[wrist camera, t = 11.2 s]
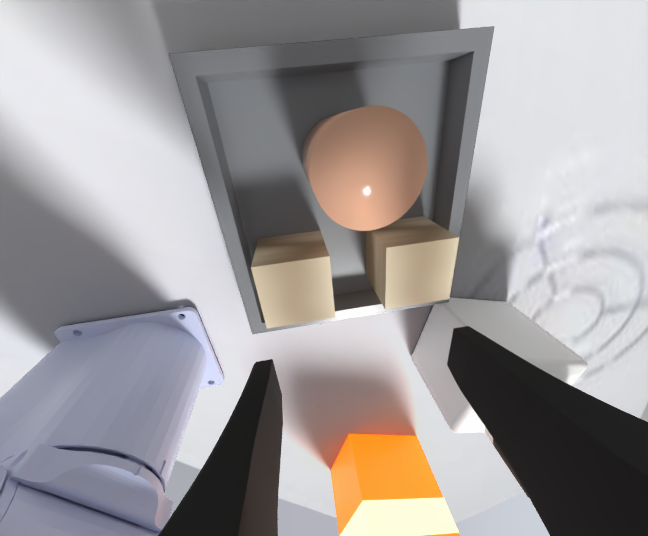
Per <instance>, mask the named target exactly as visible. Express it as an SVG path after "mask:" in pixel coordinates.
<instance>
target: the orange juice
mask: <svg viewBox="0 0 648 536" xmlns="http://www.w3.org/2000/svg"><path fill="white" fill-rule="evenodd" d="M331 478H332V485H333V493H334V500H335V507H336V515H337V522H338V529H339V536H460V535H459V531H458V529H457V527H456V525H455V522H454V520H453V518H452V515H451V513H450V511H449V508H448V506H447V504H446V502H445V499H444V498H443V496H442V494H441V491H440V489H439V487H438V485H437V482H436V480H435V478H434V475H433V473H432V471H431V468H430V466H429V464H428V461H427V459H426V457H425V454H424V452H423V450H422V448H421V445H420V443H419V441H418V438H417V436H408V435H372V434H349V435H348V437H347V439H346V441H345V443H344V445H343V446H342V448H341V450H340V452H339V454H338V456H337V458H336V460H335V462H334V464H333V466H332V468H331Z"/></svg>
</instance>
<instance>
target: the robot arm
mask: <svg viewBox="0 0 648 536" xmlns="http://www.w3.org/2000/svg"><path fill="white" fill-rule="evenodd" d="M180 314H184V315H185V316H181V315H180ZM78 330H79V331H78ZM80 331H81V332H80ZM54 335H55V337H56V338H57V339H58V341H59V342H60V343H59V344H58V345H57V346H56V347H55V348H54V349H53V350H52V351H51V352H50V353H48V354H47V355H46V356H45V357H44V358H43V359H42V360H41V361H40V362H39V363H38V364H37V365H36V366H34V367H33V368H32V369H31V370H30V371H29V372H28V373H27V374H26V375H25V376H24V377H23V378H22V379H20V380H19V381H18V382H17V383H16V384H15V385H14V386H13V387H12V388H11V389H10V390H9V391H8V392H7V393H5V394H4V395H3V396H2V397H1V398H0V536H278V533H277V532H278V530H277V529H278V528H277V507H278V487H279V472H280V457H281V442H282V426H283V416H282V394H281V390H280V386H279V382H278V379H277V375H276V371H275V367H274V364H273V360H272V359H271V360H266V361H260V362H256V363H255V364H254V366H253V368H252V371H251V374H250V376H249V378H248V381H247V383H246V385H245V388H244V390H243V392H242V394H241V397H240V399H239V401H238V403H237V405H236V407H235V409H234V411H233V413H232V415H231V417H230V419H229V421H228V423H227V425H226V427H225V429H224V431H223V432H222V434H221V436H220V438H219V440H218V442H217V443H216V445H215V447H214V449H213V451H212V453H211V454H210V456H209V458H208V459H207V461H206V463H205V464H204V466H203V468H202V469H201V471H200V473H199V474H198V476H197V478H196V479H195V481H194V482H193V484H192V486H191V487H190V489H189V490H188V492H187V493H186V495H185V497H184V498H183V499H182V501H181V502H180V504H179V506H178V507H177V509H176V510H175V511H174V513H173V514H172V516H171V518H170V519H169V516H170V513H171V510H172V507H173V503H174V502H173V501H172V500H170V499H168V498H167V497H166V496H165V495H164V492H165V489H166V486H167V483H168V480H169V477H170V474H171V471H172V468H173V465H174V462H175V459H176V457H177V454H178V451H179V448H180V445H181V442H182V439H183V436H184V433H185V430H186V427H187V424H188V421H189V418H190V415H191V412H192V409H193V406H194V403H195V400H196V397H197V394H198V391H199V388H205V387H210V386H216V385H220V384H222V383H223V382H224V375H223V373H222V371H221V368H220V366H219V363H218V361H217V358H216V356H215V353H214V351H213V349H212V346H211V344H210V341H209V339H208V336H207V334H206V332H205V329H204V327H203V324H202V322H201V319H200V317H199V314H198V312H197V310H196V309H194V308H192V307H185V308H179V309H172V310H166V311H159V312H153V313H146V314H140V315H133V316H126V317H120V318H113V319H107V320H100V321H94V322H87V323H81V324H74V325H67V326H61V327H59V328H58V329H57V330H56V331H55V332H54ZM447 366H448V368H449V370H450V372H451V374H452V376H453V378H454V379H455V381H456V383H457V385H458V387H459V389H460V390H461V392H462V393H463V395H464V396H465V398H466V399H467V401H468V402H469V404H470V405H471V407H472V408H473V410H474V411H475V412H476V414H477V415H478V417H479V418H480V420H481V421H482V423H483V424H484V425H485V427H486V428H487V430H488V431H489V433H490V434H491V436H492V437H493V439H494V440H495V441H496V443H497V444H498V446H499V447H500V449H501V450H502V452H503V453H504V455H505V456H506V458H507V460H508V461H509V463H510V464H511V466H512V468H513V470H514V471H515V473H516V475H517V477H518V478H519V480H520V482H521V484H522V485H523V487H524V489H525V490H526V492H527V494H528V496H529V498H530V499H531V501H532V503H533V505H534V507H535V508H536V510H537V512H538V514H539V516H540V517H541V519H542V521H543V523H544V525H545V527H546V528H547V530H548V532H549V534H550V536H648V422H646V421H644V420H642V419H640V418H637V417H635V416H633V415H631V414H628V413H626V412H624V411H622V410H620V409H617V408H615V407H613V406H611V405H609V404H607V403H605V402H603V401H601V400H599V399H597V398H595V397H593V396H591V395H588V394H586V393H584V392H582V391H581V390H579V389H577V388H575V387H573V386H571V385H569V384H567V383H565V382H563V381H562V380H560V379H558V378H556V377H554V376H552V375H551V374H549V373H547V372H545V371H543V370H542V369H540V368H538V367H536V366H535V365H533V364H531V363H529V362H528V361H526V360H524V359H523V358H521V357H519V356H518V355H516V354H514V353H513V352H511V351H509V350H508V349H506V348H504V347H503V346H501V345H499V344H498V343H496V342H494V341H493V340H491V339H489V338H488V337H486V336H485V335H483V334H481V333H480V332H478V331H476V330H474V329H473V328H471V327H469V326H465V327H459V328H454V329H453V334H452V340H451V345H450V350H449V356H448V361H447ZM211 380H212V381H211Z"/></svg>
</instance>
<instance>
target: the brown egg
mask: <svg viewBox="0 0 648 536" xmlns="http://www.w3.org/2000/svg"><path fill="white" fill-rule="evenodd" d="M427 164H428V159H427V150H426V145H425V142H424V139H423V137H422V134H421V132H420V131H419V129H418V127H417V126H416V125H415V123H414V122H413V121H412V120H411V119H410V118H409V117H407V116H406V115H405V114H403V113H402V112H400V111H398V110H396V109H393V108H391V107H386V106H376V105H373V106H365V107H361V108H357V109H353V110H350V111H346V112H342V113H338V114H334V115H330V116H328V117H325V118H323V119H322V120H320V121H319V122H318V123H317V124H315V125H314V126H313V128H312V129H311V130H310V132H309V133H308V135H307V137H306V139H305V141H304V144H303V149H302V165H303V169H304V172H305V175H306V177H307V179H308V181H309V183H310V186H311V188H312V190H313V192H314V194H315V196H316V198H317V200H318V202H319V204H320V206H321V208H322V209H323V210H324V212H325V213H326V214H327V215H328V216H329V217H330V218H331V219H332V220H333V221H335V222H336V223H338V224H339V225H341V226H343V227H346V228H349V229H353V230H359V231H369V230H376V229H379V228H382V227H385V226H387V225H389V224H391V223H393V222H395V221H396V220H398V219H399V218H400V217H402V216H403V215H404V214H405V213H406V212H407V211H408V210H409V209H410V208H411V206H412V205H413V204H414V202H415V201H416V199H417V198H418V196H419V194H420V192H421V190H422V188H423V185H424V182H425V178H426V173H427Z"/></svg>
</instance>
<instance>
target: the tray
mask: <svg viewBox="0 0 648 536" xmlns="http://www.w3.org/2000/svg"><path fill="white" fill-rule="evenodd" d="M493 32H494V26H492V27H480V28H469V29H457V30H445V31H433V32H421V33H409V34H397V35H385V36H373V37H361V38H349V39H337V40H325V41H313V42H301V43H289V44H277V45H265V46H253V47H241V48H230V49H218V50H206V51H194V52H182V53H170V54H169V56H170V60H171V63H172V66H173V70H174V73H175V76H176V80H177V83H178V86H179V90H180V93H181V96H182V100H183V103H184V106H185V110H186V113H187V116H188V120H189V123H190V126H191V130H192V133H193V137H194V140H195V143H196V147H197V150H198V153H199V157H200V160H201V163H202V167H203V170H204V173H205V177H206V180H207V183H208V187H209V190H210V193H211V197H212V200H213V204H214V207H215V210H216V214H217V217H218V220H219V224H220V227H221V230H222V234H223V237H224V240H225V244H226V247H227V250H228V254H229V257H230V260H231V264H232V267H233V270H234V274H235V277H236V281H237V284H238V287H239V291H240V294H241V297H242V301H243V304H244V307H245V311H246V314H247V317H248V321H249V324H250V327H251V331H252V334H257V333H263V332H269V331H275V330H281V329H287V328H294V327H300V326H306V325H312V324H318V323H324V322H330V321H337V320H343V319H349V318H355V317H361V316H367V315H373V314H380V313H386V312H392V311H398V310H404V309H410V308H416V307H423V306H429V305H435V304H441V303H447V302H449V300H450V298H449V299H447V300H440V301H434V302H428V303H422V304H416V305H410V306H403V307H397V308H391V309H385V308H384V307H383V305H382V303H381V301H380V299H379V298H378V296H377V294H376V292H375V291H374V289H373V287H372V285H371V284H370V282H369V280H368V278H367V275H366V231H359V230H353V229H349V228H346V227H343V226H341V225H339V224H338V223H336V222H335V221H333V220H332V219H331V218H330V217H329V216H328V215H327V214H326V213H325V212H324V210H323V209H322V208H321V206H320V204H319V202H318V200H317V198H316V196H315V194H314V192H313V190H312V188H311V186H310V183H309V181H308V179H307V177H306V175H305V172H304V169H303V165H302V149H303V144H304V141H305V139H306V137H307V135H308V133H309V132H310V130H311V129H312V128H313V126H314V125H315V124H317V123H318V122H319V121H320V120H322V119H323V118H325V117H328V116H330V115H334V114H338V113H342V112H346V111H350V110H353V109H357V108H361V107H365V106H373V105H376V106H386V107H391V108H393V109H396V110H398V111H400V112H402V113H403V114H405V115H406V116H407V117H409V118H410V119H411V120H412V121H413V122H414V123H415V125H416V126H417V127H418V129H419V131H420V132H421V134H422V137H423V139H424V142H425V145H426V150H427V159H428V164H427V173H426V178H425V182H424V185H423V188H422V190H421V192H420V194H419V196H418V198H417V199H416V201H415V202H414V204H413V205H412V206H411V208H410V209H409V210H408V211H407V212H406V213H405V214H404V215H403V216H402V217H400V218H399V219H406V218H414V217H421V216H425V217H426V218H428V219H430V220H431V221H433V222H435V223H436V224H438V225H440V226H441V227H443V228H445V229H446V230H448V231H450V232H451V233H453V234H455V235H456V236H458V237H459V239H460V233H461V227H462V221H463V215H464V209H465V203H466V196H467V190H468V184H469V178H470V172H471V166H472V160H473V154H474V148H475V142H476V135H477V129H478V123H479V117H480V111H481V105H482V99H483V93H484V87H485V81H486V74H487V68H488V62H489V56H490V50H491V44H492V38H493ZM399 219H398V220H399ZM319 230H320V231H321V234H322V236H323V239H324V242H325V245H326V247H327V250H328V253H329V256H330V265H331V276H332V287H333V297H334V308H335V318H329V319H323V320H317V321H311V322H305V323H298V324H292V325H286V326H280V327H274V328H268V329H267V327H266V323H265V319H264V316H263V312H262V308H261V304H260V300H259V296H258V293H257V289H256V285H255V281H254V277H253V273H252V270H251V265H252V261H253V258H254V254H255V250H256V246H257V242H258V239H260V238H268V237H275V236H282V235H289V234H297V233H304V232H311V231H319ZM458 245H459V243H458ZM457 251H458V249H457ZM456 257H457V255H456ZM455 263H456V261H455ZM454 270H455V267H454ZM453 276H454V273H453ZM452 282H453V279H452ZM451 288H452V286H451ZM450 294H451V292H450Z"/></svg>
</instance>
